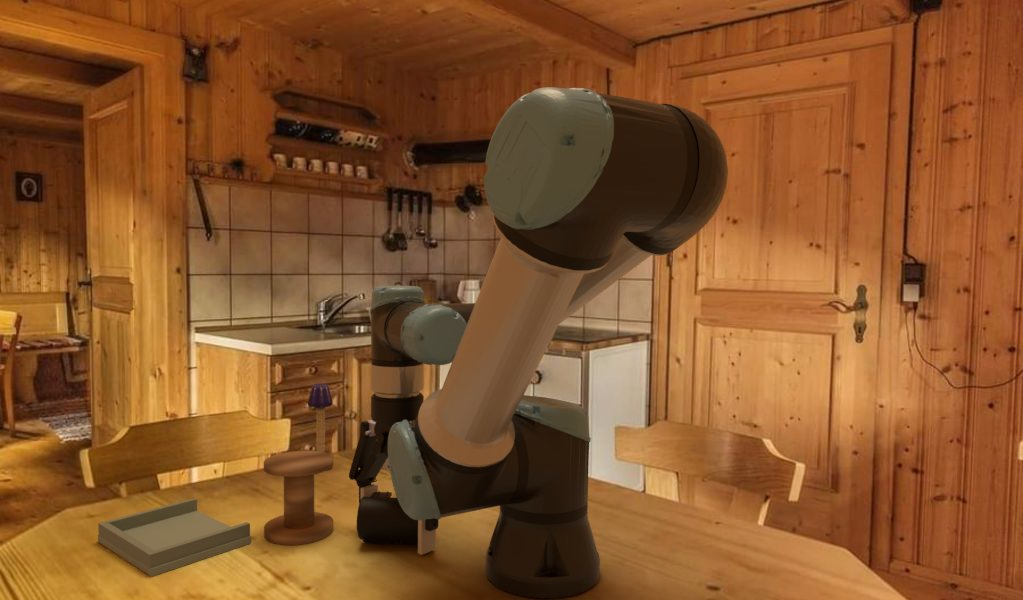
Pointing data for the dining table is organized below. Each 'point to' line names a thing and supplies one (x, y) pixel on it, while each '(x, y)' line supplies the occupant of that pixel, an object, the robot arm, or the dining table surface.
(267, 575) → the dining table surface
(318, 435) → the toy lamp
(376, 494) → the end cap
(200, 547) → the olive grey tray
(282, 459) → the bobbin spool
